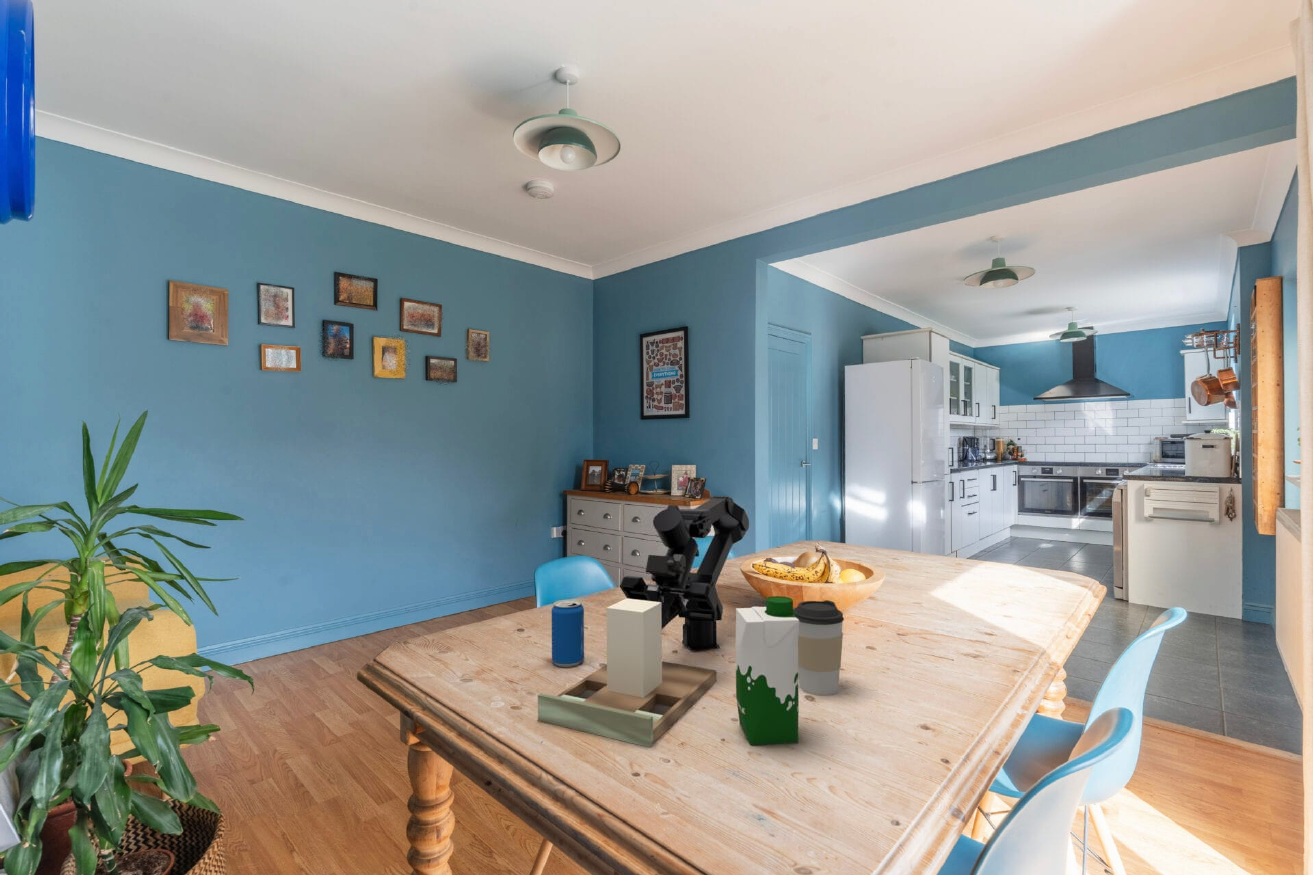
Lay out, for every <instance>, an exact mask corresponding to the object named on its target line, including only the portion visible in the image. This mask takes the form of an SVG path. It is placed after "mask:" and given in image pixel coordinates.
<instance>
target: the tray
mask: <svg viewBox="0 0 1313 875" xmlns="http://www.w3.org/2000/svg"><path fill="white" fill-rule="evenodd" d="M716 682H717V670H716V669H711V668H706V667H700V666H693V665H687V664H683V663H681V664H680V663H675V662H670V661H669V662H668V661H663V660H662V683H661V684H660V685H659V686H657V687H656V688H655V689H654V690H653V691H651V692H650V693H649V694H648V695H646V696H645V697H644V698H642V697H637V696H632V695H627V694H622V693H617V692H612V691H607V663H606V664H605V665H604V666H602V667H600V668H598V669H597V670H595V671H594V672H592V673H591V674H589V675H588V676H586V677H584V678H583V679H581V680H580V681H578V682H576V683H575V684H573V685H572V686H570V687H568V688H567V689H565V690H564V691H562V692H561V693H559V694H558V695H554V694H548V693H544V692H540V693H539V694H537V721H539V722H541V723H546V724H550V723H551V724H552V725H554V726H558V727H564V728H569V729H573V730H577V731H580V732H584V733H589V734H593V735H597V736H601V737H606V738H610V739H614V740H618V741H622V742H626V743H629V744H630V743H631V744H635V745H638V746H643V747H647V748H651V747H652V746H653V745H654V744H655V743H656V742H657V741H658V740H659V739H660V738H661V737H662V736H663V735H664V734H665V733H666V732H667V731H668V730H669V729H670V728H671V727H672V726H673V725H674V724H675V723H676V722H677V721H678V720H679V719H680V718H681V717H682V716H683V715H685V713H686V712H687V711H688V710H689V709H690V708H691V707H692V706H693V705H694V704H695V703H696V702H697V701H698V700H699V699H700V698H701V697H702V696H703V695H704V694H706V692H707V691H708V690H709V689H710V688H711V687H713V685H714V684H716Z"/></svg>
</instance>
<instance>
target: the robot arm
mask: <svg viewBox="0 0 1313 875" xmlns="http://www.w3.org/2000/svg"><path fill="white" fill-rule="evenodd" d="M652 524H653V527H654V529H655V531H656V534H657V535H658V537H659V539H660V541H661V543H662V545H664V546H665V547H666V548H667V551H666V553H665V554H666V555H659V554H657V555H656V554H648V556H647V561H646V566H645V573H647V574H648V573H649V574H650V575H651V577H650V579H651V580H652V582H655V583H652V582H651V583H648V585H646V583H645V582H644V580H645V579H644V578H643V577H642V576H633V575H625V576H624V577H622V579H621V582H620V584H619V588H620V590H621V591H622V592H623V594H624V596H625V597H627V598H628V599H636V600H645V601H647V600H648V601H653V602H661V618H662V630H663V629H664V628H665V627H666V626H667V625H669V623H671V621H673V620H674V619H675V618H676V617H677V616H678V618H681V619H682V618H683V619H684V623H683V624H682V640H681V643H682V644H683V645H684V646H686V647H687V649H689V650H690V651H691V652H700V651H701V652H702V651H707V650H716V649H721V645H720V644H718V643H717V639H718V638H717V636H718V635H717V632H718V631H717V621H718V622H719V621H722V620H723V614H724V606H723V603H722V602H721V600H720V598H719V595H718V590H717V588H716V585H717V582H718V580H719V578H720V576H721V572H722V570H723V569H724V566H725V564H726V561H727V559H728V557H729V554H730V551H731V549H732V547H733V545H734V544H737V543H738V542H739V541H742V539H743V538H744V537H745V535H746V533H747V531H748V530H749V528H750V520H749V517H748V515H747V513H746V510H745V509H744V508H742V507H741V506H740V505H738V504H737V503H736V502H735V501H734V500H733V498H732V497H730V496H722V495H721V496H719V495H717V496H715V495H714V496H711V497H710V498H709V500H706V501H705V502H704V503H702V504H701V505H699V506H697V507H696V508H685V509H680V508H679V505H678V504H668V506H667V508H665V509H663V510H661V511H659V512H658V513H657V514H656V515H655V516H654V517H653V520H652ZM712 528H713V531H714V535H713V537H712V539H711V541H710V543H709V545H708V547H707V549H706V551H705V554H704V555H703V558H702V560H701V563H700V564H699V567H698V569H697V570H696V572H691V571H692V568H693V565H694V562H695V558H696V557H699V556H700V550H699V544H698V543H697V541H696V539H706V537H707V536H708V535H709V534H710V533H711V531H712Z"/></svg>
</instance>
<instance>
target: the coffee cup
mask: <svg viewBox="0 0 1313 875" xmlns="http://www.w3.org/2000/svg"><path fill="white" fill-rule="evenodd" d="M793 612H794V613H795V616H796V617H797V619H799V633H798V688H799V689H800V690H802V691H803V692H804V693H805V692H806V693H808V694H811V695H815V696H833V695H835V694H837V693H838V692H839V690H840V689H839V686H840V685H839V684H840V672H841V666H842V653H843V652H842V650H843V638H844V633H843V621H844V620H845V618H844V615H843V614H844V613H843V612H842V611H841V610H839V608H838V607H837V604H836V603H835V602H834V601H832V600H828V599H825V600H821V601H820V600H807V601H806V600H805V601H801V602H799V603H798V604H797V606H796V607H793Z"/></svg>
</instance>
